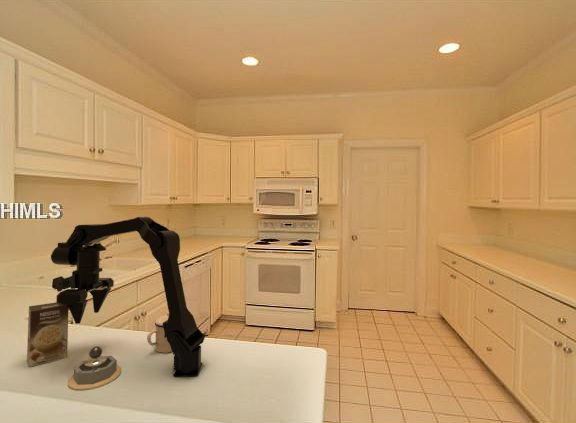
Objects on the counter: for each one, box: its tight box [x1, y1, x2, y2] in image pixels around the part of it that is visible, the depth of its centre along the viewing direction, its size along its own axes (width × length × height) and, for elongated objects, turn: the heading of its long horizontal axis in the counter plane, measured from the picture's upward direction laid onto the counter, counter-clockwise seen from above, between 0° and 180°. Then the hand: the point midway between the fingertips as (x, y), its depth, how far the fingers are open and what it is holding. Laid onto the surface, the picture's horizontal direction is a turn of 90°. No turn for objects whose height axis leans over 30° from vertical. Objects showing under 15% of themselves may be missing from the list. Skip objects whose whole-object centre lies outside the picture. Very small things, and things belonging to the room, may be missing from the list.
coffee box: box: [26, 301, 70, 368], centre depth 90 cm, size 9×6×16 cm
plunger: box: [85, 345, 107, 371], centre depth 80 cm, size 5×5×7 cm
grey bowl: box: [67, 355, 122, 391], centre depth 80 cm, size 12×12×4 cm
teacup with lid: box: [146, 311, 172, 354], centre depth 97 cm, size 12×9×12 cm
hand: (87, 317), depth 89 cm, fingers open, 9 cm apart
